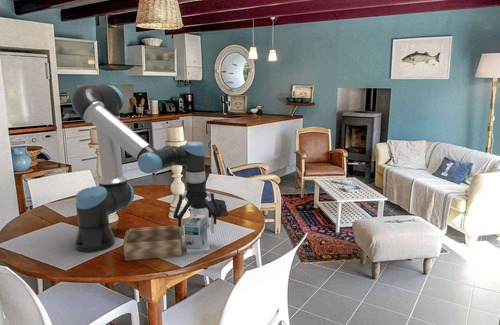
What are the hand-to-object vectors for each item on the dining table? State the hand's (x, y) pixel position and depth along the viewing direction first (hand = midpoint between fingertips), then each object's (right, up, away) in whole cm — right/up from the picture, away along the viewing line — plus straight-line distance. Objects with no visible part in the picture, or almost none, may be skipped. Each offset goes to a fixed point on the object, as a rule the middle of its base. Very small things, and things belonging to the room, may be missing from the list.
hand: (197, 233), depth 158 cm
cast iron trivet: (+2, +3, +47) cm, 47 cm away
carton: (-17, -6, -2) cm, 18 cm away
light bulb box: (-1, -5, +1) cm, 5 cm away
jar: (-2, -1, +25) cm, 25 cm away
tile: (0, -6, +1) cm, 6 cm away
